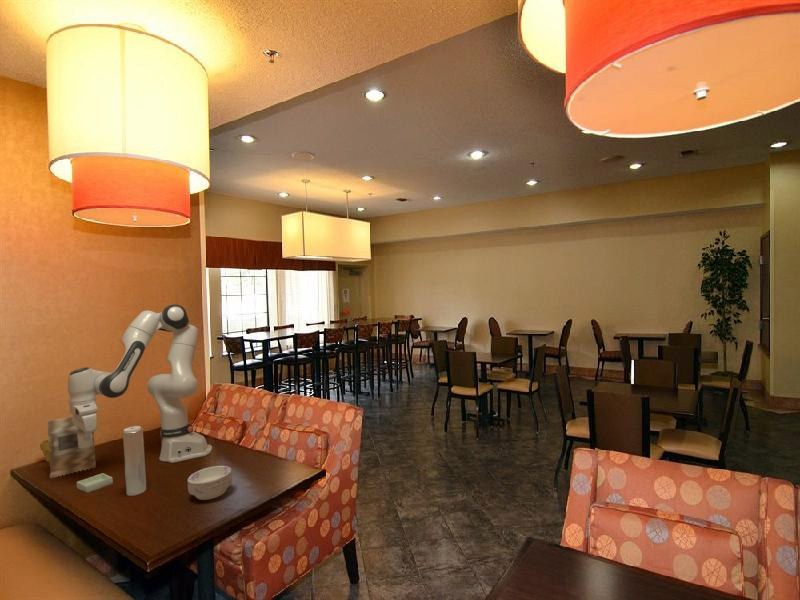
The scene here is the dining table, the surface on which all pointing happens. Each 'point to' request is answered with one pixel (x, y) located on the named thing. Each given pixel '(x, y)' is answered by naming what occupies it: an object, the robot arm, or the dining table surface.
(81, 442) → the cartridge
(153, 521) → the dining table surface
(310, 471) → the dining table surface
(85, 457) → the plate
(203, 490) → the paper bowls
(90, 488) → the service tray
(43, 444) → the plant pot
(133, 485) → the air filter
